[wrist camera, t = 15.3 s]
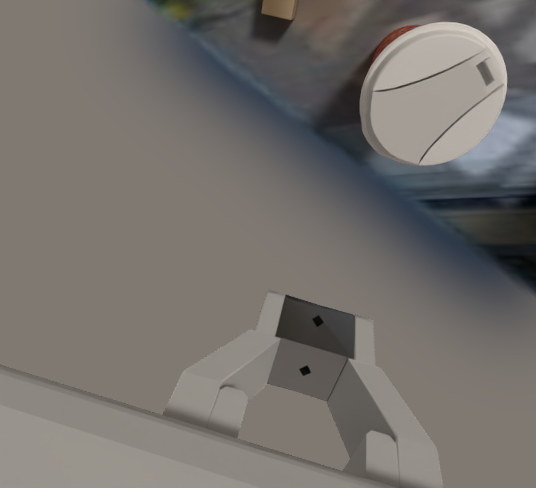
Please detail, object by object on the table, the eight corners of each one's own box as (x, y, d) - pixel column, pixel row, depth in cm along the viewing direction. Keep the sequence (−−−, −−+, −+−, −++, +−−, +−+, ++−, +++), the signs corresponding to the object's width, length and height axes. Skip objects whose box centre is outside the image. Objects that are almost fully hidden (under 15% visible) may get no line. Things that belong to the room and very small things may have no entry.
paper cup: (428, -15, 29) (475, -16, 18) (473, 73, 32) (539, 123, 20) (339, 55, 33) (330, 91, 21) (386, 129, 35) (400, 197, 24)
